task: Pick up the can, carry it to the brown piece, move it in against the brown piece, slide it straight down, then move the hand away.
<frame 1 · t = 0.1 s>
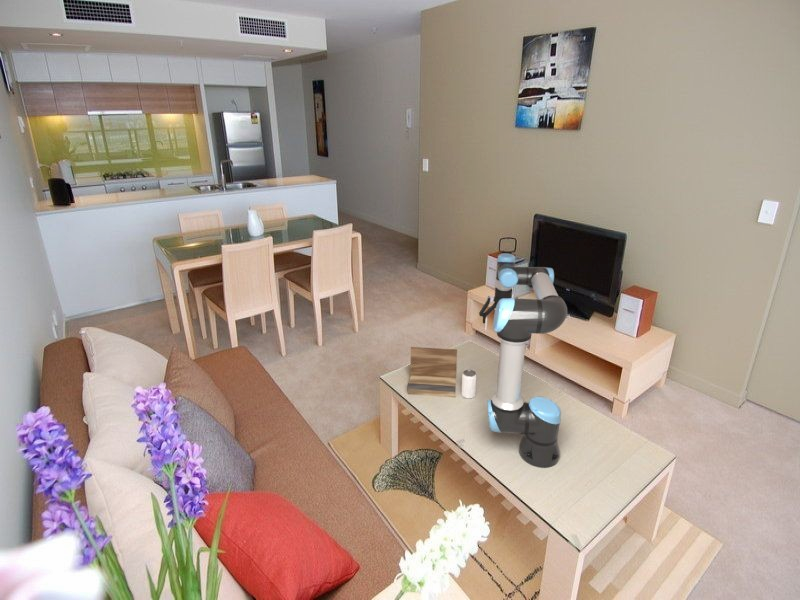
hand: (500, 330, 215), 28 cm above the table, fingers open, 13 cm apart
can: (468, 395, 216), on the table
brown piece: (432, 387, 221), on the table
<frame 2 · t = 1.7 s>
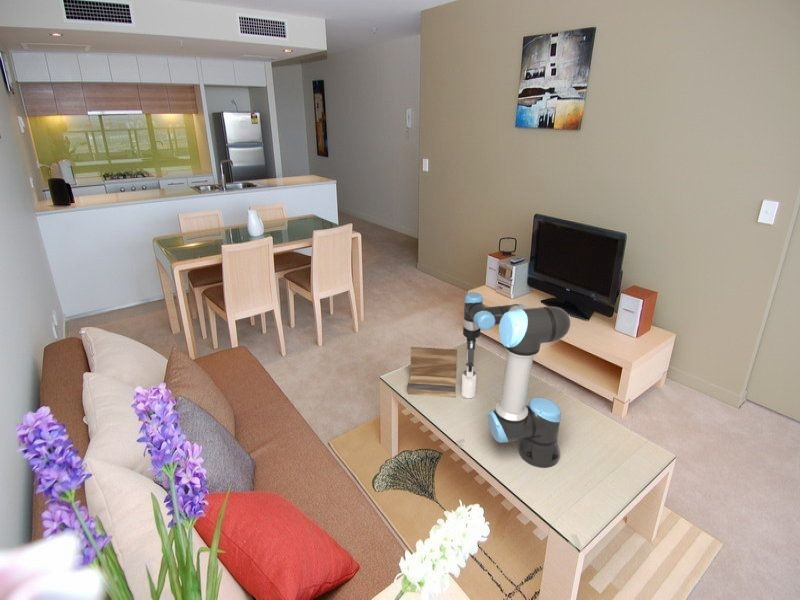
hand: (469, 368, 210), 14 cm above the table, fingers open, 13 cm apart
nothing on the table moved.
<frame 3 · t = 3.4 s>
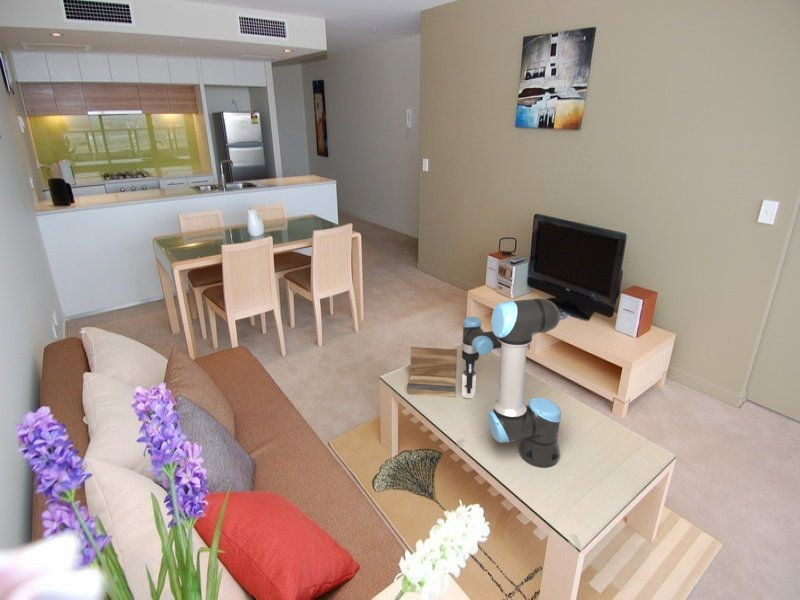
hand: (468, 393, 215), 1 cm above the table, fingers closed on can, 6 cm apart
can: (468, 395, 216), on the table, touching gripper
everything else where it was.
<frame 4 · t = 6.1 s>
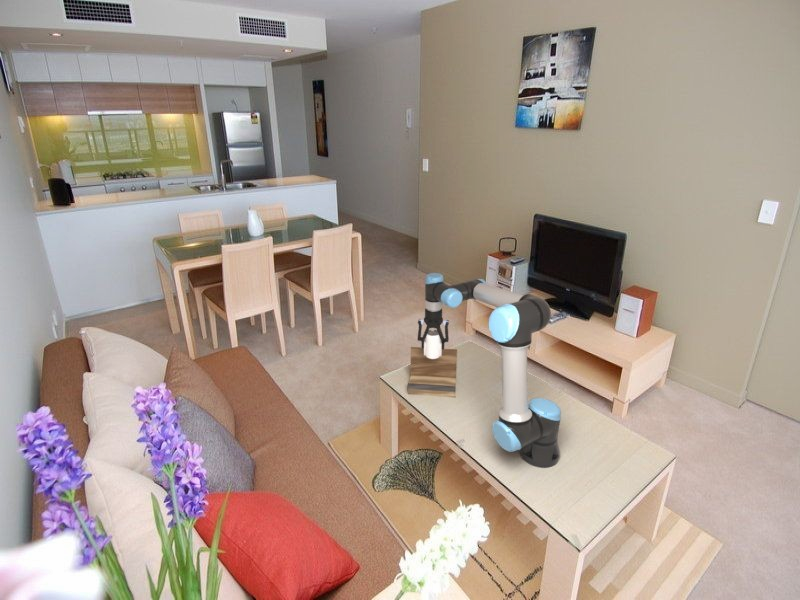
hand: (432, 354, 210), 21 cm above the table, fingers closed on can, 6 cm apart
can: (432, 356, 210), point 20 cm above the table, touching gripper
everything else where it was.
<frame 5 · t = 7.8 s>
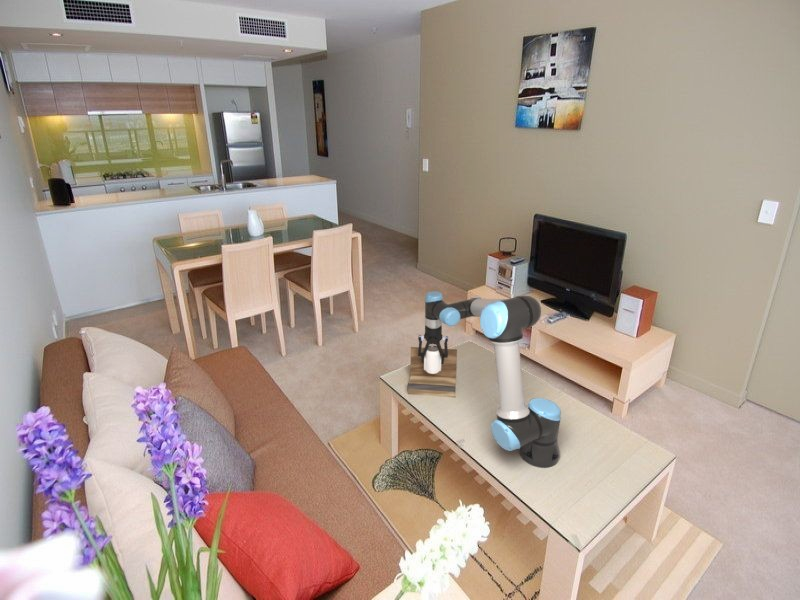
hand: (432, 369, 217), 11 cm above the table, fingers closed on can, 6 cm apart
can: (432, 371, 217), point 10 cm above the table, touching gripper
everything else where it was.
when the fingers open (6 cm above the table, at t = 9.2 s): can drops 2 cm, resting on brown piece.
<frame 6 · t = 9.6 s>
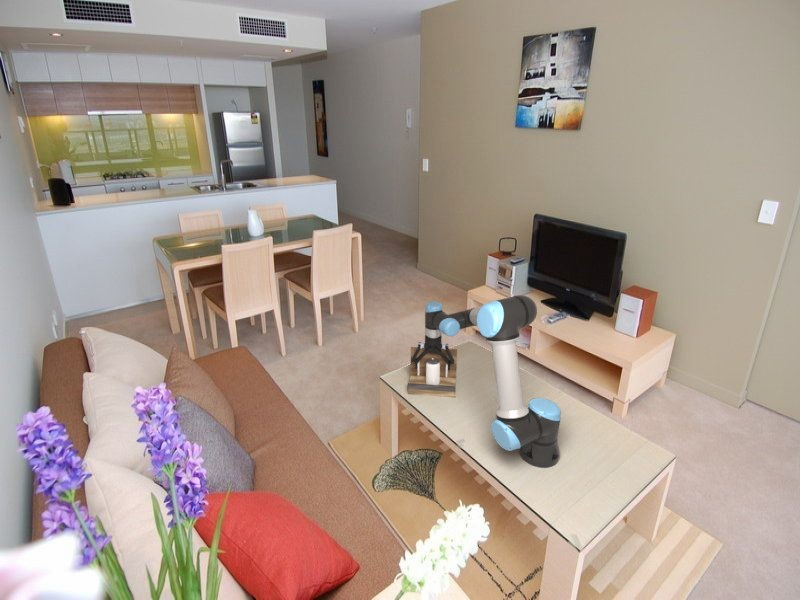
hand: (432, 374, 218), 8 cm above the table, fingers open, 12 cm apart
can: (432, 383, 220), point 3 cm above the table, touching brown piece
everything else where it was.
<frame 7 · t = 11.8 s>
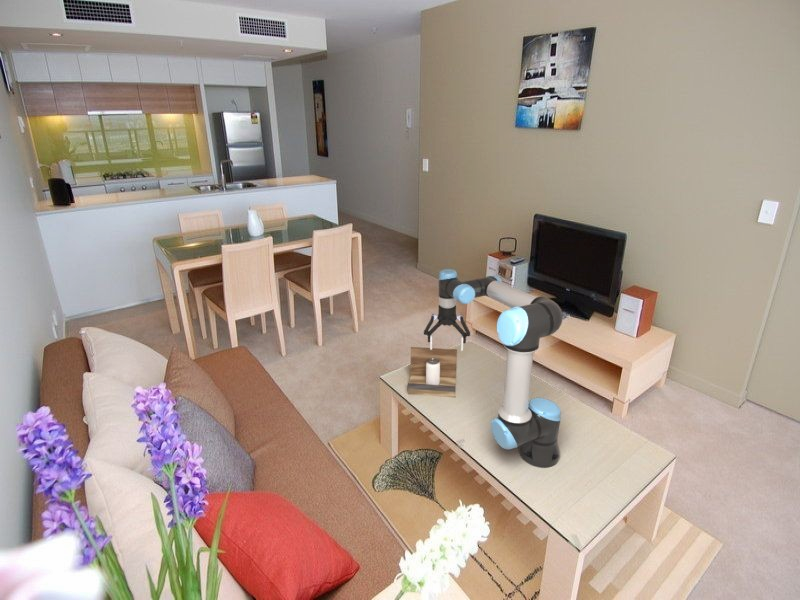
hand: (446, 348, 206), 25 cm above the table, fingers open, 13 cm apart
nothing on the table moved.
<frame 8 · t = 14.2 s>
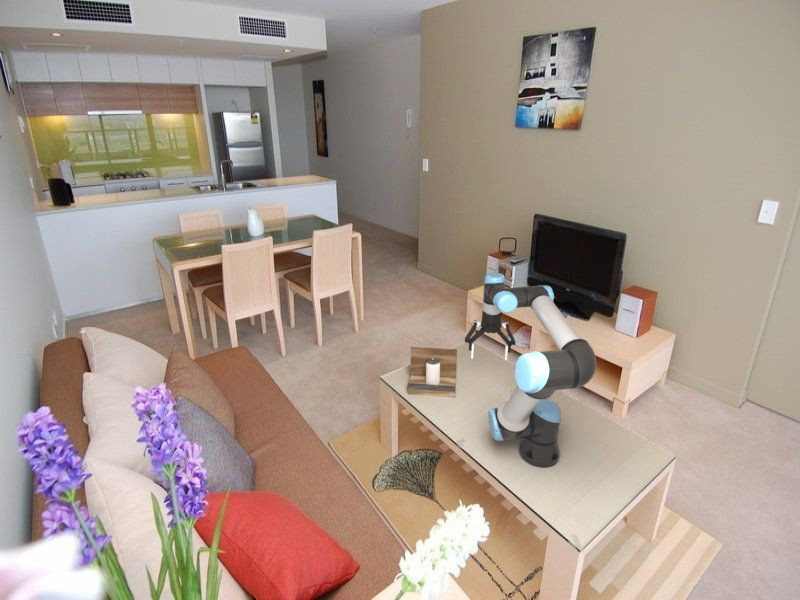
hand: (488, 357, 191), 29 cm above the table, fingers open, 13 cm apart
nothing on the table moved.
at the end: can inside the target area on the brown piece (0.3 cm from its centre), point 2.8 cm above the brown piece's base; can tilted 0°; the gripper is holding nothing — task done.
